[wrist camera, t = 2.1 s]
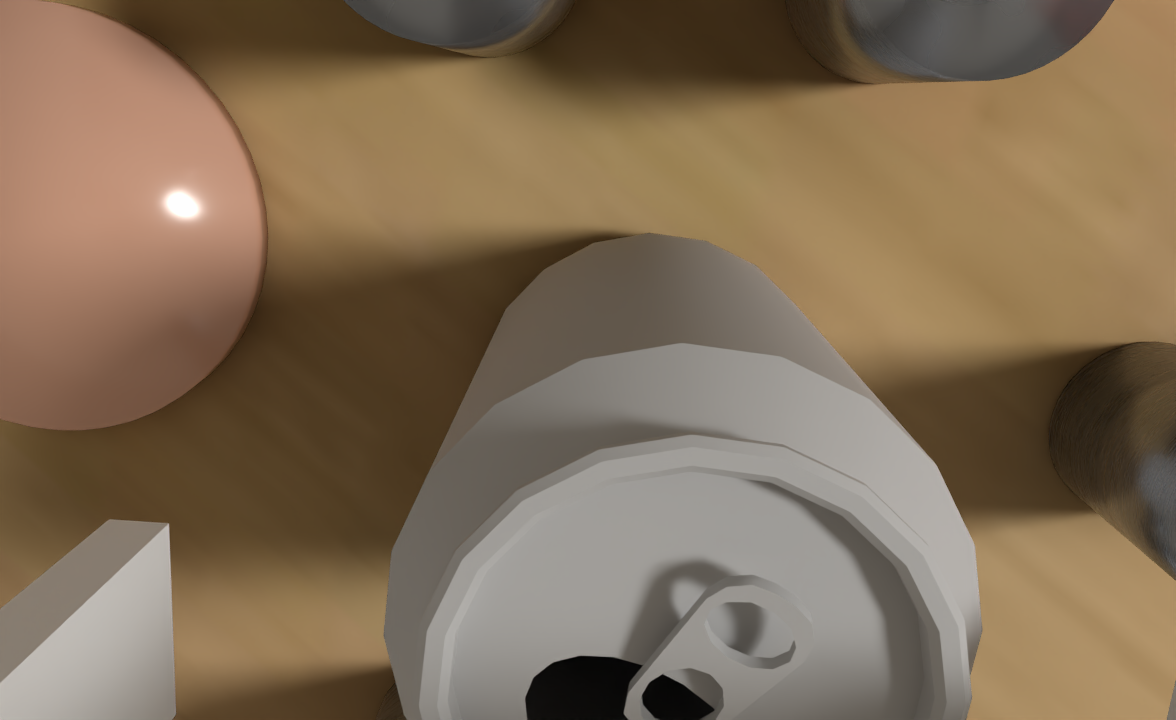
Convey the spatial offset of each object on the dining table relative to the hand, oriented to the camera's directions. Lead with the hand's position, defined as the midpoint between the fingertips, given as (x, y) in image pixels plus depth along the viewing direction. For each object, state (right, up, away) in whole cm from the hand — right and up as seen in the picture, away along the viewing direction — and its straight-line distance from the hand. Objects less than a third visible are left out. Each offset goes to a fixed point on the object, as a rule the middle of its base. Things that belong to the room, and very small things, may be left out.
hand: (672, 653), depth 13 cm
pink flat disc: (-12, +7, +9) cm, 17 cm away
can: (0, +3, +10) cm, 10 cm away
